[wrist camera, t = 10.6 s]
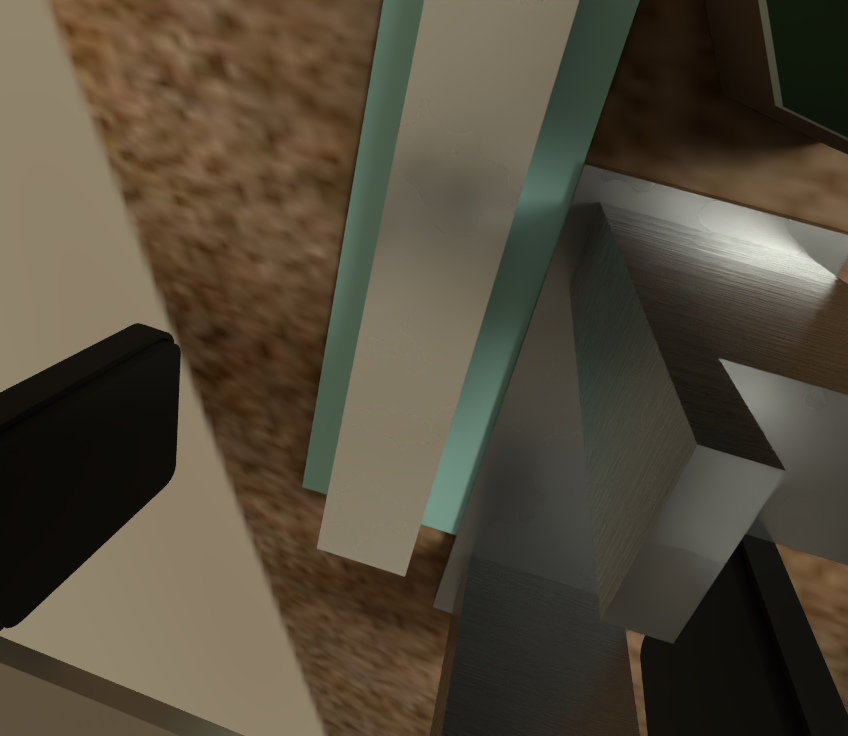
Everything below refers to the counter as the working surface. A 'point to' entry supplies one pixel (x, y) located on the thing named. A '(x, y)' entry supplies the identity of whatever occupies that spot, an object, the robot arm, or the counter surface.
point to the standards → (643, 448)
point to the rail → (437, 258)
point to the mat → (522, 257)
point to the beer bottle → (786, 61)
